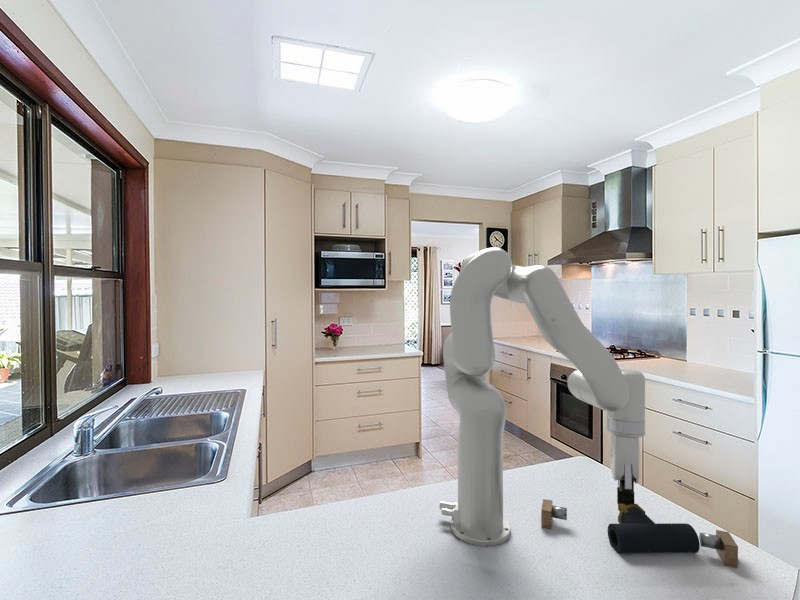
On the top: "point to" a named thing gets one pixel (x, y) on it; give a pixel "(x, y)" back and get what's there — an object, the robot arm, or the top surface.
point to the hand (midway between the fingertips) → (625, 507)
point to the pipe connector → (649, 534)
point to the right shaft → (722, 546)
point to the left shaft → (551, 514)
